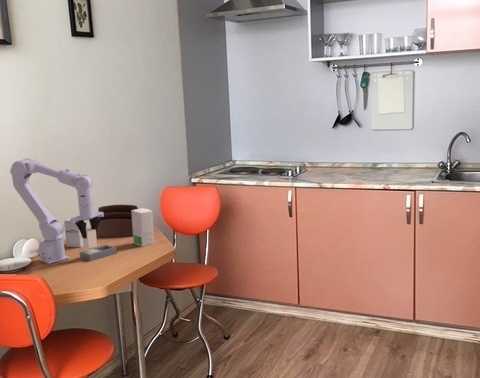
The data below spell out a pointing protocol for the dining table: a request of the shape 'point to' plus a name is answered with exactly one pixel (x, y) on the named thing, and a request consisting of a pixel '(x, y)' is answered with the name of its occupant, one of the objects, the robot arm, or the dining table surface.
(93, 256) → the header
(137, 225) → the skincare box
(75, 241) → the supplement box
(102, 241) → the dining table surface
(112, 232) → the letter holder
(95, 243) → the plug
